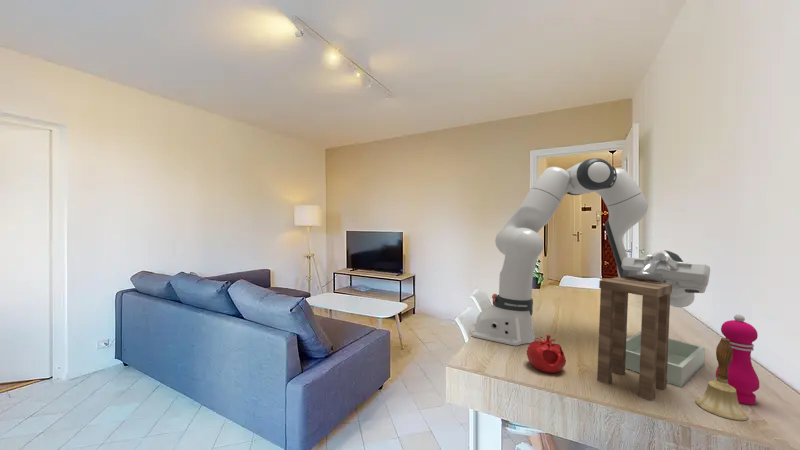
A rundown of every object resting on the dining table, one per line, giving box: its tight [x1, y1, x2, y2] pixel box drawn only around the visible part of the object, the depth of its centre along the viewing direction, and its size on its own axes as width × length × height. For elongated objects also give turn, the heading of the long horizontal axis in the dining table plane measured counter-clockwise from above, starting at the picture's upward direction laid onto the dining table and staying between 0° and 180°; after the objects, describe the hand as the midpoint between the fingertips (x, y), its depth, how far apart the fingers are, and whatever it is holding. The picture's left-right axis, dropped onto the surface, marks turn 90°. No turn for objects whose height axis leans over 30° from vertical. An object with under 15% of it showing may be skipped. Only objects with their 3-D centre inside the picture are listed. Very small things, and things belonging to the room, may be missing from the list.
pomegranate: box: [526, 334, 567, 374], centre depth 88 cm, size 10×10×9 cm
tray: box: [625, 331, 706, 388], centre depth 94 cm, size 25×16×5 cm, turn 126°
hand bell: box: [694, 337, 749, 422], centre depth 70 cm, size 8×8×16 cm
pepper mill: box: [715, 314, 761, 406], centre depth 76 cm, size 7×7×20 cm
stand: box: [596, 276, 672, 402], centre depth 81 cm, size 12×12×26 cm
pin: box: [622, 252, 665, 283], centre depth 87 cm, size 17×8×2 cm, turn 126°
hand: (656, 257), depth 90 cm, fingers closed on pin, 2 cm apart
